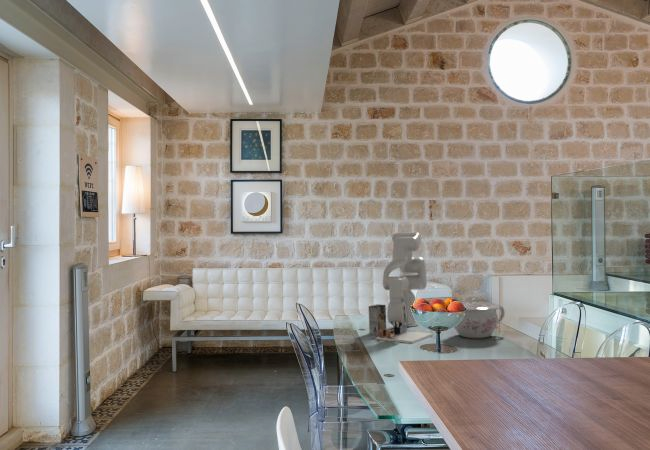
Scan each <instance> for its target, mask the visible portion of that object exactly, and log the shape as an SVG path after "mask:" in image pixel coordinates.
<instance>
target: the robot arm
mask: <svg viewBox="0 0 650 450" xmlns="http://www.w3.org/2000/svg"><path fill="white" fill-rule="evenodd" d="M391 239H392V243H393V248H392V260H391V261H390V262H389V263H388V264H387V265H386V266H385V268H384V271H383V274H382V286H383V289H384V290H386V291H389V292H388V295H389V298H388V299H389V302H388V304H387V305H388V306H387V312H386V319H387V322H388V323H389V324H390V325H392V327H394V333H395V335H399V334H400V327H401V326H403V324H406V323H407V327H417V326H419V324H420V323H419V322H418V321H417V320H416V321H415V319H414V317H413V315H412V312H411V309H410V306H411V305H413V303H414V301H415V302H416V295H415V293H413V291H412V290H414V291H415V290H419V291H420V290H421V291H422V290H425V289H426V288H427V269H426V261H425V258H423V257H419V256H418V257H417V256H413V252H418V251H419V248H420V246H421V243H422V235H421V233H420V232H417V231H415V232H414V231H411V232H410V231H409V232H407V231H406V232H405V231H403V232H402V231H401V232H395V233H393V234H392V235H391ZM397 269H399V270H400V272H401V273H405V274H400V275H399V276H390V274H391V273H392V272H394V271H395V270H397ZM406 273H407V274H406ZM417 322H418V323H419V324H418V323H417Z"/></svg>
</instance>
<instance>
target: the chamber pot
mask: <svg viewBox="0 0 650 450" xmlns="http://www.w3.org/2000/svg"><path fill="white" fill-rule="evenodd" d="M459 303H462V304H463V305H464V307H465V308H466V311H465V312H464V313H465V316H464V318H463V320H462V321H461V322H460V323H459V324H458V325H457V326H455V327H454V326H453V327H454V329H455V331H456V333H457V335H459V336H461V337H463V338H467V339H477V340H479V339H486V338H489V337H491V336H492V335H493V334H494V332H495V331H496V329H497V327H498V324H499V323H500V322H502V320H503V319H504V317H505V312H506V311H505V308H504V307H503V306H502V305H500V304H496V303H492V302H486V301H480V300H479V299H477V298H472V299H470V301H461V302H459ZM497 310H500V316H499V315H498V313H497ZM498 316H499V317H498Z"/></svg>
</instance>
